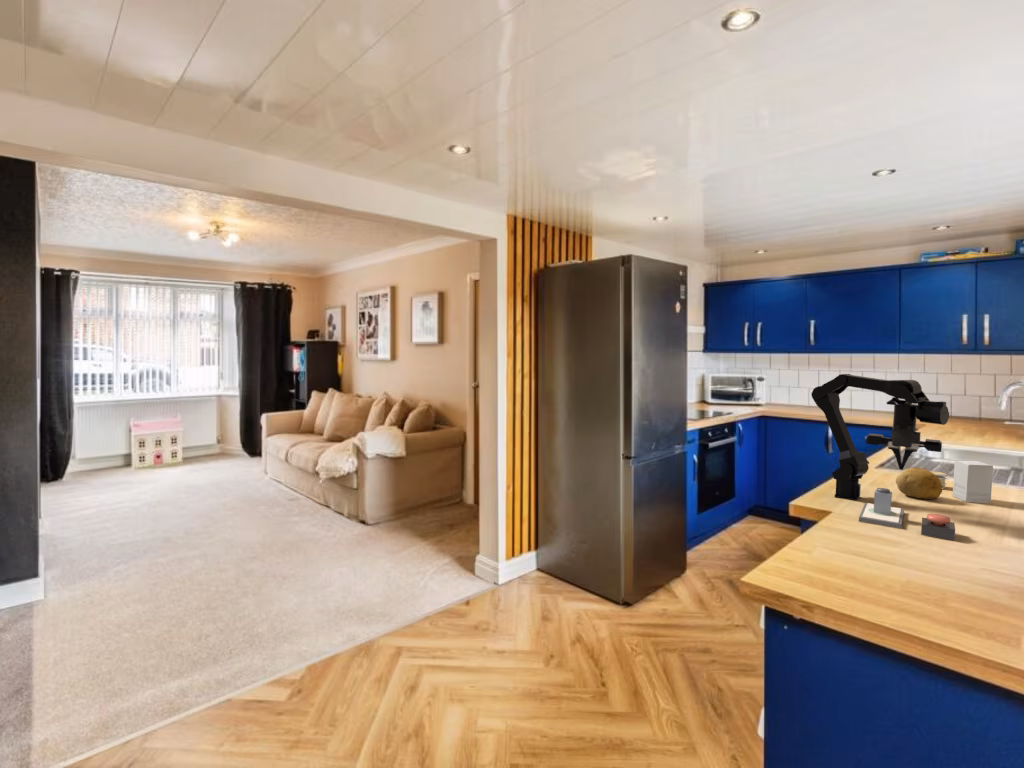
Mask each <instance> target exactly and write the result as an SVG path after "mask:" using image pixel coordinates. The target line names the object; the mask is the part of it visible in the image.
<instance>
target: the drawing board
mask: <svg viewBox="0 0 1024 768" xmlns="http://www.w3.org/2000/svg"><path fill="white" fill-rule="evenodd" d="M904 515H905V509H904V508H903V507H902V508H900V507H894V506H891V513H890V515H887V514H881V513H875V512H874V503H869V502H865V503H864V504H863V507H862V509H861V512H860V514H859V516H858V522H862V523H867V524H871V525H879V526H885V527H889V528H895V529H896V528H897V529H902V525H903V520H904Z"/></svg>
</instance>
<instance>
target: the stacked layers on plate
mask: <svg viewBox="0 0 1024 768" xmlns="http://www.w3.org/2000/svg"><path fill="white" fill-rule="evenodd" d="M929 471H930V472H932V473H933V474H935V475H936V476H937V477H938V478H939V479H940V481H941V484H942V488H945V486H947V483H946V480H947V479H948V478H947V477H945V476H947V474H946V473H944V472H943V471H942V472H941V471H933V470H929Z"/></svg>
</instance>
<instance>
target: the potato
mask: <svg viewBox="0 0 1024 768" xmlns="http://www.w3.org/2000/svg"><path fill="white" fill-rule="evenodd" d="M930 471H931V470H927V469H925V468H921V467H914V466H913V467H910V468H906V469H905V468H904V469H903V470H902V472H900V473H899V474H898V475H897V476H896V477H895V484H896V486H897V488H898V490H899V491H900V493H902V494H903V495H906V496H907V497H910V498H918V499H924V500H925V499H933V500H936V499H938V498H940V496H941V494H942V492H943V489H942V484H941V481H940V479H939V478H938V477H937V476H936V475H937V474H933V473H932V472H930Z"/></svg>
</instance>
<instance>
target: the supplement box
mask: <svg viewBox="0 0 1024 768" xmlns="http://www.w3.org/2000/svg"><path fill="white" fill-rule="evenodd" d="M993 468H994V465H992V464H988V463H985V462H982V461H979V460H954V469H953V481H952V482H953V483H952V496H953V498H954V497H955V498H956V499H958V500H961V501H964V502H965V503H966V502H967V503H977V504H978V503H979V504H981V503H982V504H991V502H992V487H993V483H992V482H993V470H994V469H993Z"/></svg>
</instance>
